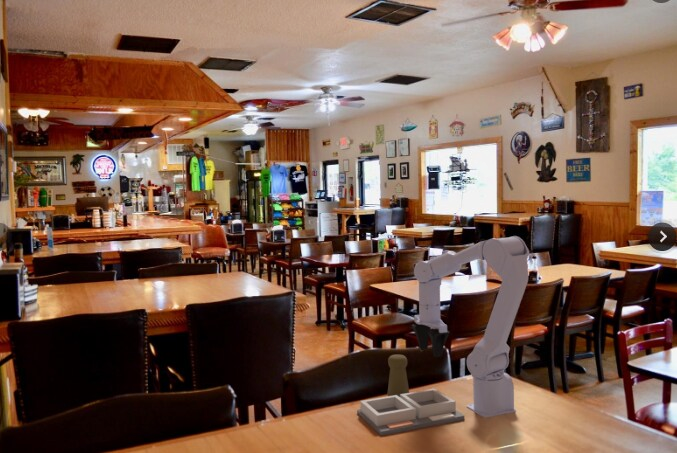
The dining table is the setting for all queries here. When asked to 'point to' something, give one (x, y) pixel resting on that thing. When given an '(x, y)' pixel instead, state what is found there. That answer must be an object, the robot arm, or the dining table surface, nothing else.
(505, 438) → the dining table surface
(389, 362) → the cork
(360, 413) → the caddy
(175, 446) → the dining table surface
